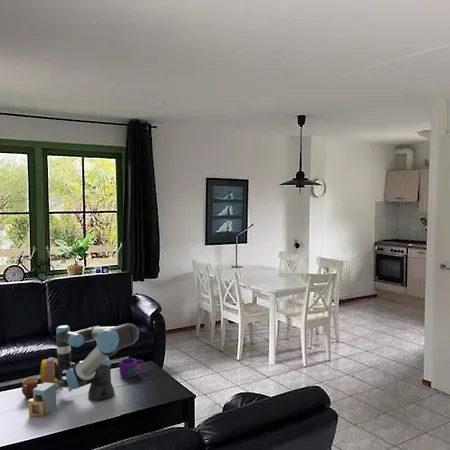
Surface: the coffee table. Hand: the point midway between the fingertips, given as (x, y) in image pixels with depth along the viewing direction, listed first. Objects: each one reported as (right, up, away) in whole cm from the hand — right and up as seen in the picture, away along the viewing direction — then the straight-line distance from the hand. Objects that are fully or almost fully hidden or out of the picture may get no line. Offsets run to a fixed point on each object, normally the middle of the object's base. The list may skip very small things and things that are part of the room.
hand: (65, 390), depth 281 cm
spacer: (-7, -6, -24) cm, 26 cm away
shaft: (-2, +2, -8) cm, 9 cm away
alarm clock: (-14, -3, +15) cm, 21 cm away
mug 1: (-21, -5, -1) cm, 22 cm away
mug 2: (+33, -1, +32) cm, 46 cm away
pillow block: (-5, -5, -18) cm, 19 cm away
